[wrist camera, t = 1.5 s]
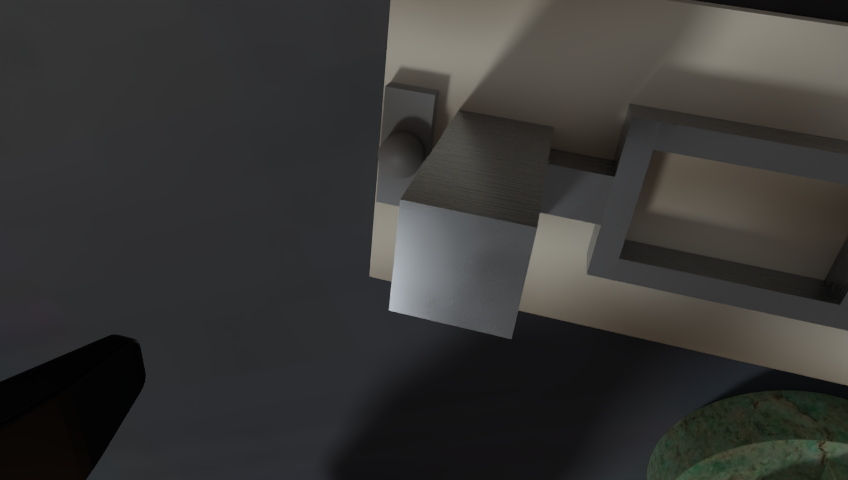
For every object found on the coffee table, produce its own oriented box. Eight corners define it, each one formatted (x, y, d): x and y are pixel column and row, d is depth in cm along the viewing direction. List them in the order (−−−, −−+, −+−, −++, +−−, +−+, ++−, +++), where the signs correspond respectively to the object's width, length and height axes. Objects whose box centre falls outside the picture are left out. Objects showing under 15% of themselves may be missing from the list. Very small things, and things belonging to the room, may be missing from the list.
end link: (840, 306, 19) (954, 484, 13) (442, 223, 21) (385, 345, 15) (925, 154, 17) (1114, 289, 11) (464, 74, 19) (404, 152, 13)
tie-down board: (1165, 439, 20) (1225, 495, 18) (377, 263, 24) (359, 293, 22) (1497, 116, 14) (1635, 147, 12) (402, -42, 18) (381, -37, 16)
